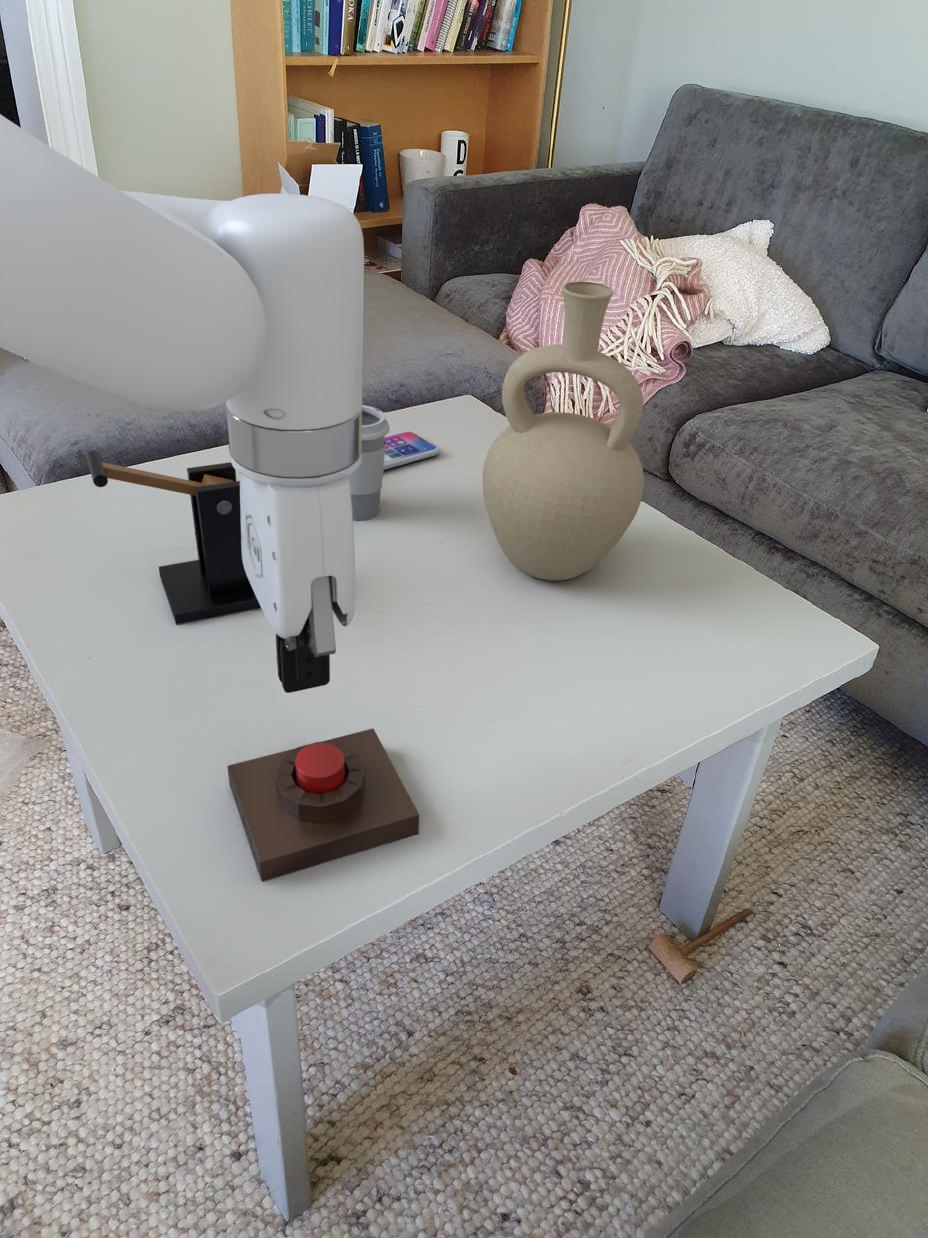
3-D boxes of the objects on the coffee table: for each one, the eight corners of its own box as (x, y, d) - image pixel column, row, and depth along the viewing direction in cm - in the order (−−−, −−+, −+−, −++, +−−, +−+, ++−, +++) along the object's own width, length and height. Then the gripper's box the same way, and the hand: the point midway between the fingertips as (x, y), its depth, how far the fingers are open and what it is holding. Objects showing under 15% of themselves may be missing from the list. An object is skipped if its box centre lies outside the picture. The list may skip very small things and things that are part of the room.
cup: (400, 514, 108) (402, 419, 101) (354, 531, 104) (353, 434, 97) (363, 491, 112) (363, 398, 105) (318, 506, 108) (315, 411, 101)
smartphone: (314, 454, 117) (410, 428, 125) (315, 461, 118) (410, 435, 126) (345, 476, 113) (442, 448, 120) (345, 483, 113) (442, 455, 121)
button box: (261, 882, 65) (257, 845, 62) (229, 785, 72) (224, 748, 70) (418, 834, 69) (420, 797, 67) (373, 747, 76) (373, 711, 74)
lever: (90, 491, 79) (96, 467, 78) (83, 466, 83) (89, 442, 82) (233, 519, 87) (241, 497, 86) (222, 495, 90) (229, 473, 89)
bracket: (176, 624, 88) (158, 508, 81) (159, 576, 95) (141, 464, 87) (297, 601, 93) (291, 488, 85) (273, 556, 99) (266, 447, 92)
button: (304, 799, 66) (303, 782, 65) (290, 766, 69) (289, 749, 68) (351, 786, 68) (351, 769, 67) (336, 754, 70) (335, 737, 69)
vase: (459, 591, 96) (480, 302, 78) (493, 516, 109) (517, 254, 91) (618, 621, 93) (676, 329, 76) (632, 540, 106) (685, 276, 89)
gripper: (202, 391, 56) (224, 631, 67) (263, 504, 45) (279, 768, 56) (320, 380, 59) (324, 612, 70) (404, 484, 48) (393, 740, 59)
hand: (304, 681), depth 63 cm, fingers closed
